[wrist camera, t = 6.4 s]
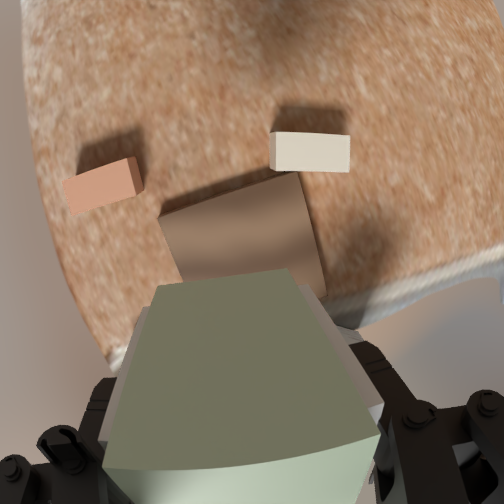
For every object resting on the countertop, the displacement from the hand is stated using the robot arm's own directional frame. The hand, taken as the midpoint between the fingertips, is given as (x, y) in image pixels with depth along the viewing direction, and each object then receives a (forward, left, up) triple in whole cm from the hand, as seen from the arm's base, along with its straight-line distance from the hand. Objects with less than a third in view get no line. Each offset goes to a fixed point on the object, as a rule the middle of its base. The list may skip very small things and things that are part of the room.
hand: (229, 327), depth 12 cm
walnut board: (+3, +2, -16) cm, 16 cm away
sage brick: (0, 0, 0) cm, 0 cm away
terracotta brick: (-5, -9, -16) cm, 19 cm away
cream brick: (-5, +8, -16) cm, 18 cm away
